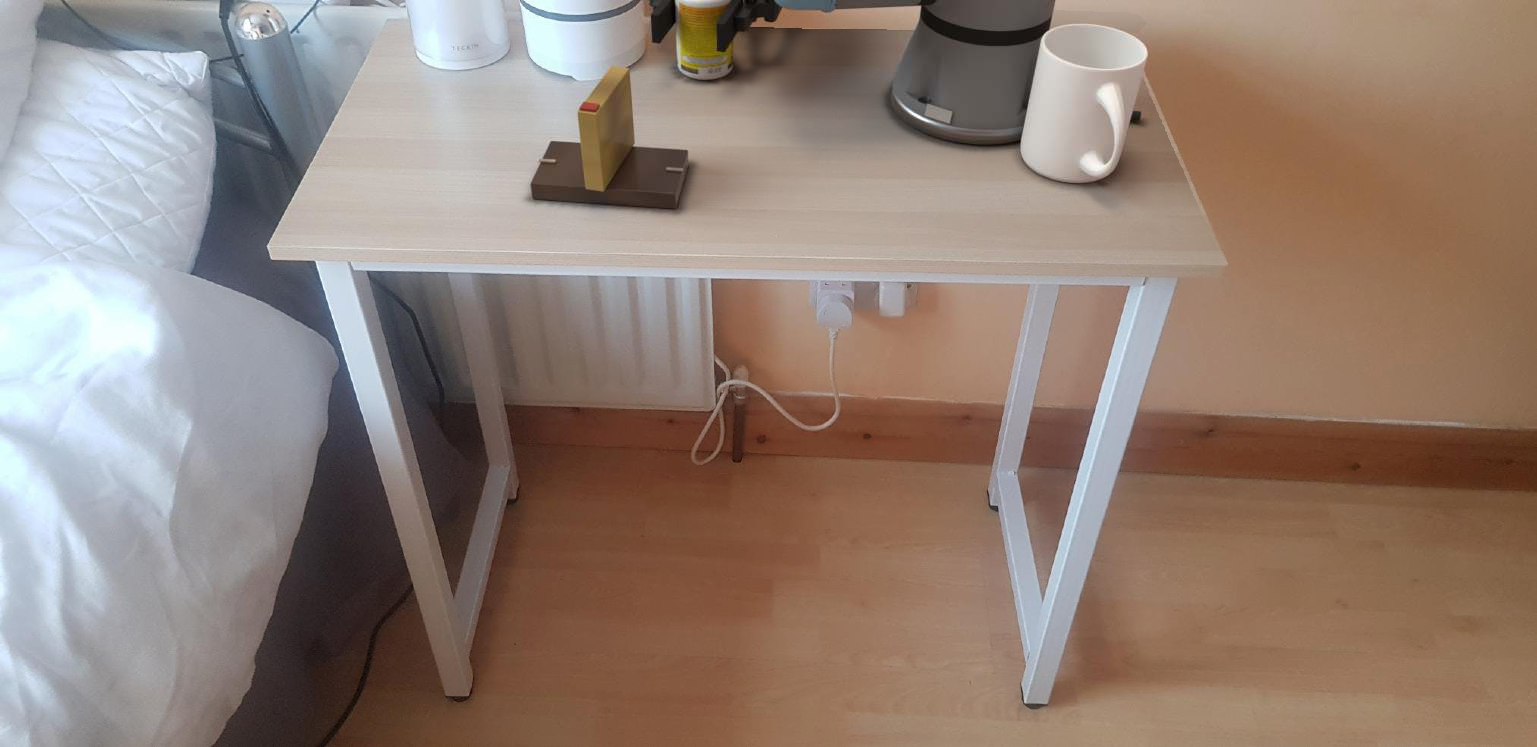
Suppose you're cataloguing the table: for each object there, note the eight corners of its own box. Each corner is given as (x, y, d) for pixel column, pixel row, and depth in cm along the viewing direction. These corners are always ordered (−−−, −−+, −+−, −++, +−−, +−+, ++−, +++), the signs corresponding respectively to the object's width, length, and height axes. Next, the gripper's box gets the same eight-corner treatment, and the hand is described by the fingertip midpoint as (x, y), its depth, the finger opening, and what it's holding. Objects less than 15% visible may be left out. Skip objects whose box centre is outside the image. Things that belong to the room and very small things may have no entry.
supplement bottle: (741, 77, 106) (741, -26, 99) (686, 86, 105) (683, -18, 98) (723, 53, 110) (722, -48, 103) (670, 61, 109) (666, -41, 102)
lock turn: (617, 140, 94) (611, 62, 89) (635, 143, 93) (629, 65, 89) (585, 189, 88) (576, 108, 83) (603, 192, 88) (596, 111, 83)
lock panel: (689, 164, 94) (689, 148, 93) (677, 209, 89) (676, 192, 88) (551, 155, 95) (549, 138, 94) (531, 199, 89) (528, 181, 88)
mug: (1052, 212, 90) (1080, 93, 82) (1005, 138, 98) (1026, 26, 91) (1149, 204, 91) (1185, 86, 84) (1094, 132, 100) (1122, 20, 92)
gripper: (835, -12, 117) (784, 85, 101) (671, -32, 120) (596, 58, 104) (839, -83, 112) (787, 6, 95) (669, -102, 115) (589, -19, 99)
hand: (687, 33), depth 100 cm, fingers closed on supplement bottle, 6 cm apart
